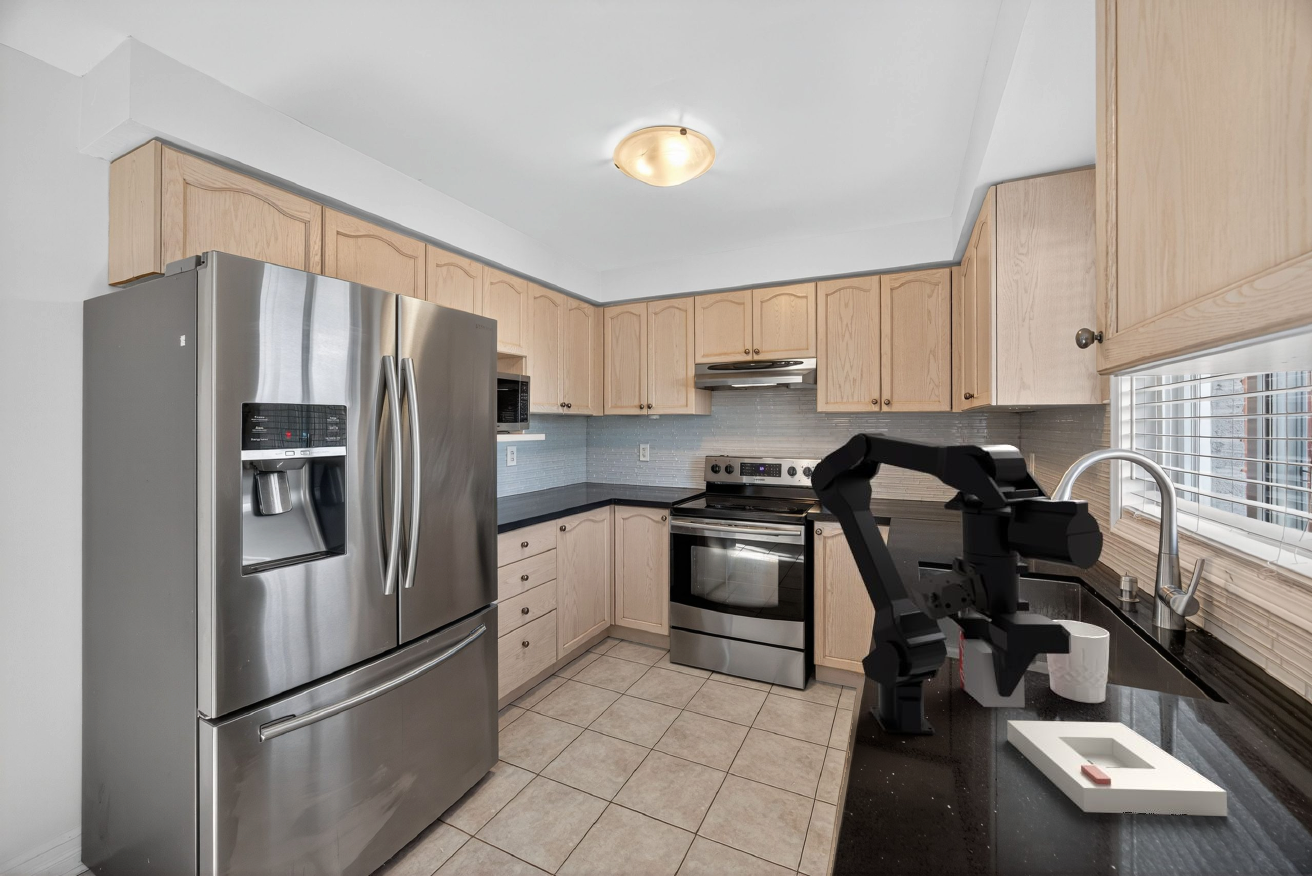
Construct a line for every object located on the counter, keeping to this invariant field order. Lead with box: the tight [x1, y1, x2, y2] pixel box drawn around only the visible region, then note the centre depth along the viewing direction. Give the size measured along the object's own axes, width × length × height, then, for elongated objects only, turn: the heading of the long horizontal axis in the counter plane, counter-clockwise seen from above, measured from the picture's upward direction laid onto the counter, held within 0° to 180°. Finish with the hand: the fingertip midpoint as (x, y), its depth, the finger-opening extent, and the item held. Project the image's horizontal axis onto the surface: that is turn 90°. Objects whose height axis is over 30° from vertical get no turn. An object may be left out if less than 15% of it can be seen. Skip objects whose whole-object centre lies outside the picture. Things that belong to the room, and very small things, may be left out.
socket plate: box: [1006, 719, 1228, 817], centre depth 64 cm, size 14×14×3 cm
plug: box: [963, 639, 1037, 708], centre depth 64 cm, size 4×7×6 cm, turn 86°
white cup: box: [1046, 619, 1110, 704], centre depth 84 cm, size 8×8×10 cm
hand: (993, 687), depth 64 cm, fingers closed on plug, 4 cm apart
